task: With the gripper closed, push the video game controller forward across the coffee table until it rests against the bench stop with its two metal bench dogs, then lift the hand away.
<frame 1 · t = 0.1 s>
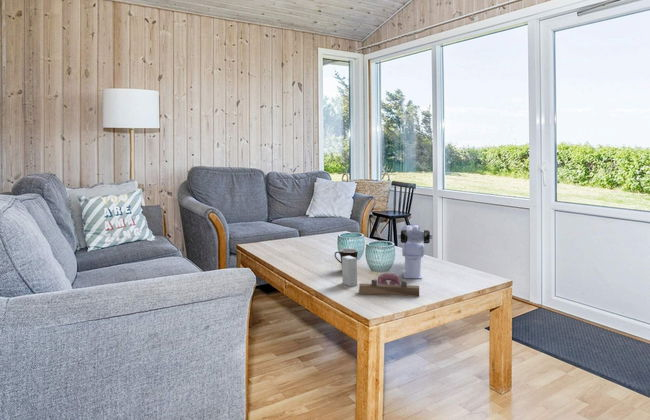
hand: (416, 238, 189), 22 cm above the table, tool horizontal, fingers open, 7 cm apart
bench stop: (388, 294, 185), on the table
coffee mug: (347, 270, 221), on the table
video game controller: (388, 287, 194), on the table
skincare box: (349, 284, 198), on the table
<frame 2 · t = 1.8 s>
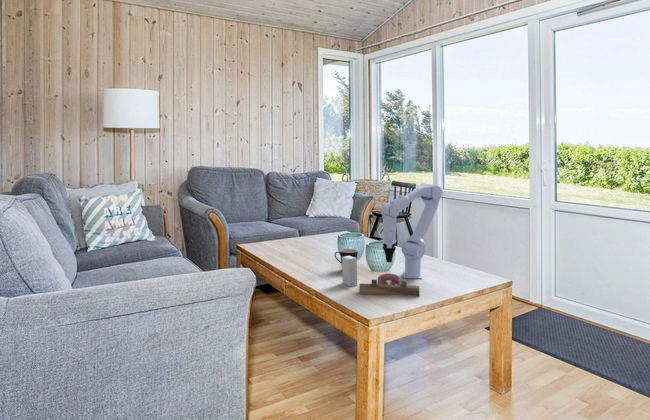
hand: (389, 260, 201), 9 cm above the table, tool pointing down, fingers open, 5 cm apart
nothing on the table moved.
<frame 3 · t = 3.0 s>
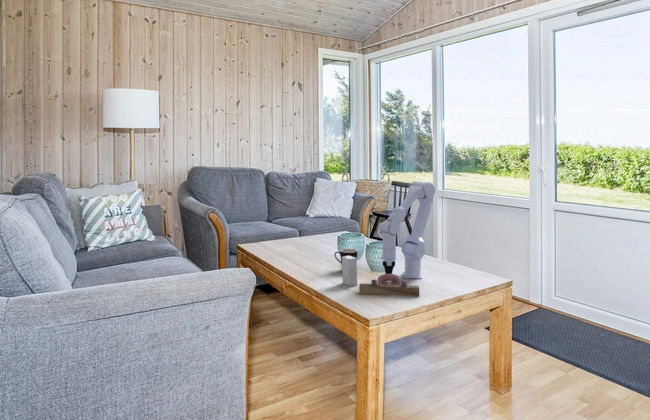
hand: (388, 277, 202), 2 cm above the table, tool pointing down, fingers closed
nothing on the table moved.
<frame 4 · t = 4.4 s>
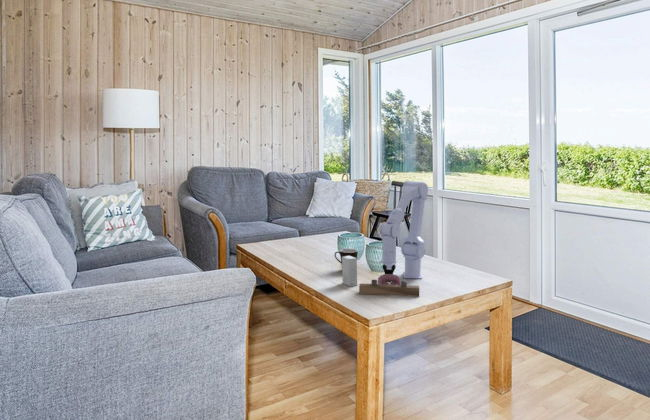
hand: (388, 281, 197), 1 cm above the table, tool pointing down, fingers closed
video game controller: (389, 288, 193), on the table, touching gripper
everything else where it was.
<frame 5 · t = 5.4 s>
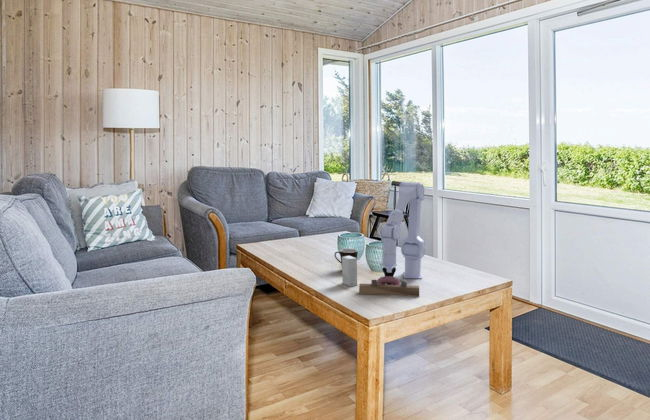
hand: (388, 284, 193), 1 cm above the table, tool pointing down, fingers closed
video game controller: (388, 291, 189), on the table, touching bench stop, gripper
everything else where it was.
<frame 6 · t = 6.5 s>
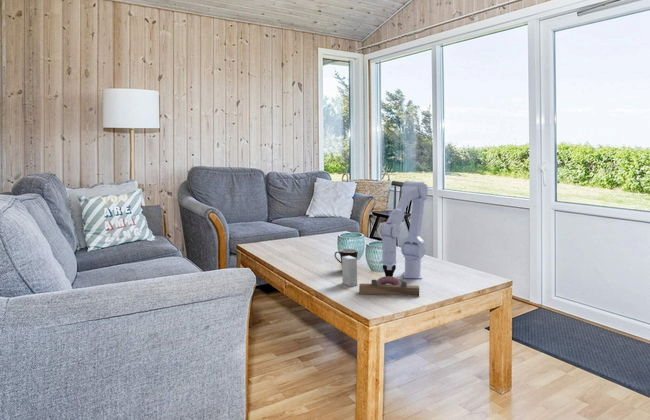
hand: (388, 281, 197), 1 cm above the table, tool pointing down, fingers closed
video game controller: (388, 291, 189), on the table
everything else where it was.
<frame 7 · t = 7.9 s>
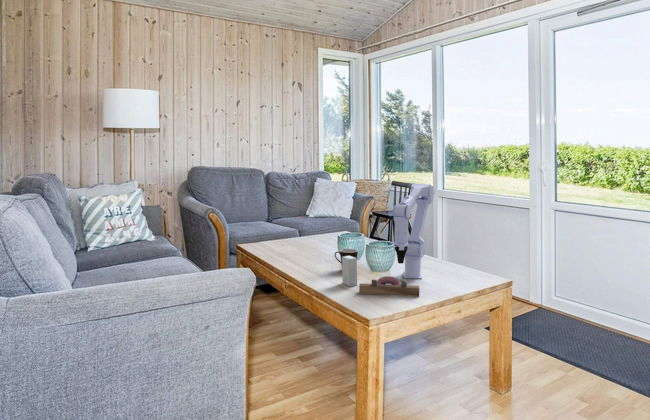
hand: (400, 263, 197), 9 cm above the table, tool pointing down, fingers closed
nothing on the table moved.
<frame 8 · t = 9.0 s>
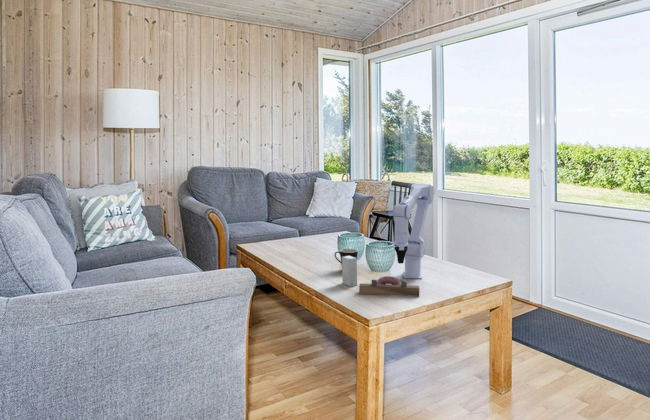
hand: (400, 263, 197), 9 cm above the table, tool pointing down, fingers closed
nothing on the table moved.
at the end: video game controller 0.2 cm from the target spot, on the table; video game controller tilted 0°; video game controller moved 5.1 cm from its start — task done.
